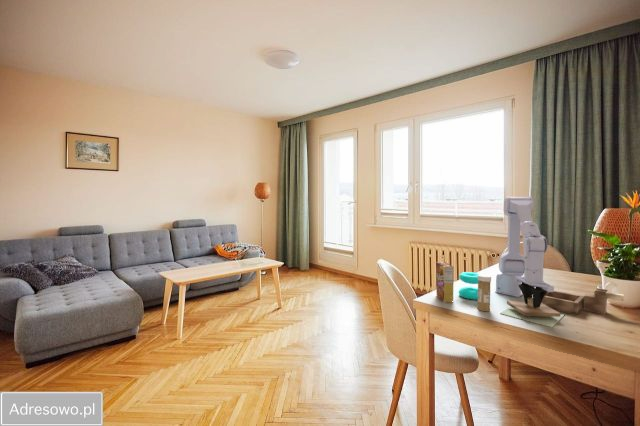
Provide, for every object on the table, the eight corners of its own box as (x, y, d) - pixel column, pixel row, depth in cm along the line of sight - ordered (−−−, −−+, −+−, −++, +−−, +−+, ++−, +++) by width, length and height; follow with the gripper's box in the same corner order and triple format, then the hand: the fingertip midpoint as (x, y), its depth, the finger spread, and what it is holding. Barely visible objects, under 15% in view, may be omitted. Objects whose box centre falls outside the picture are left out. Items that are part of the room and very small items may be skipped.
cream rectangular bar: (593, 295, 119) (594, 290, 119) (594, 294, 120) (595, 289, 120) (623, 301, 113) (623, 295, 113) (623, 300, 114) (624, 294, 114)
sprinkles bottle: (490, 312, 119) (491, 277, 118) (476, 310, 121) (477, 275, 120) (490, 308, 123) (491, 274, 122) (477, 306, 125) (478, 273, 124)
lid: (506, 303, 123) (507, 293, 122) (539, 304, 122) (539, 294, 121) (524, 315, 111) (524, 303, 110) (560, 316, 110) (560, 304, 109)
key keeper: (583, 309, 121) (584, 288, 120) (585, 307, 123) (586, 286, 123) (604, 314, 116) (605, 291, 116) (606, 311, 119) (607, 289, 118)
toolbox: (538, 306, 125) (539, 295, 124) (547, 299, 133) (547, 289, 132) (577, 315, 116) (577, 303, 115) (584, 307, 123) (584, 296, 123)
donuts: (471, 278, 130) (454, 272, 139) (471, 301, 131) (453, 294, 140) (490, 275, 133) (471, 270, 143) (489, 298, 134) (470, 292, 143)
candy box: (435, 295, 138) (436, 261, 137) (445, 295, 138) (445, 261, 137) (443, 302, 129) (443, 266, 128) (453, 302, 129) (454, 266, 128)
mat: (500, 313, 117) (500, 313, 117) (515, 304, 127) (515, 303, 127) (552, 327, 105) (552, 326, 105) (564, 315, 115) (564, 314, 115)
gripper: (561, 273, 109) (560, 311, 110) (525, 264, 123) (524, 298, 124) (545, 274, 107) (543, 313, 108) (510, 265, 122) (509, 299, 122)
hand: (532, 305), depth 116 cm, fingers closed on lid, 3 cm apart
